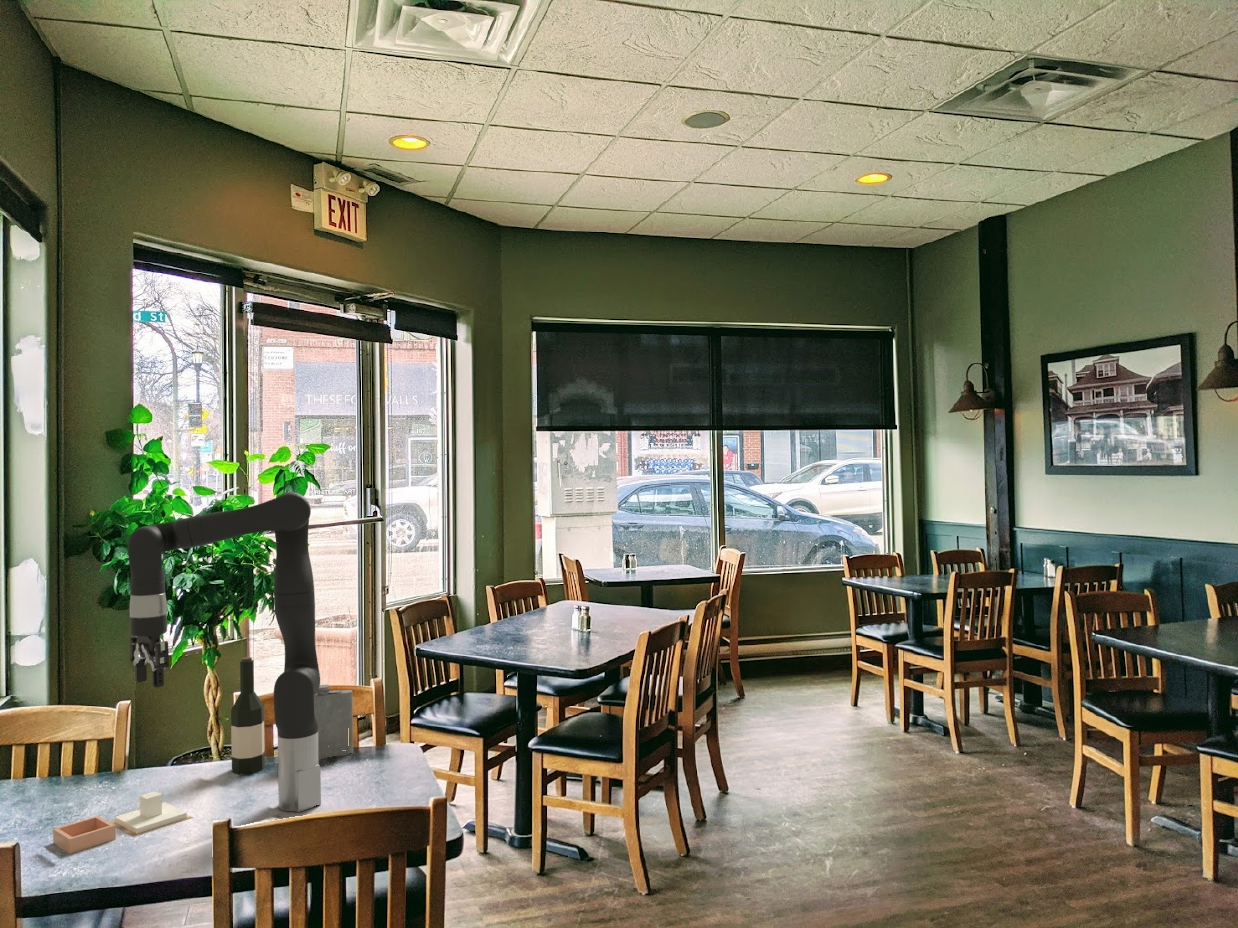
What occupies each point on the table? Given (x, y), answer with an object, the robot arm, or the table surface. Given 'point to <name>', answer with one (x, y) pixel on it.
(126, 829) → the mat
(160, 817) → the lid
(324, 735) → the hip flask
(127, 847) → the table surface
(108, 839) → the dish
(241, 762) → the wine bottle
